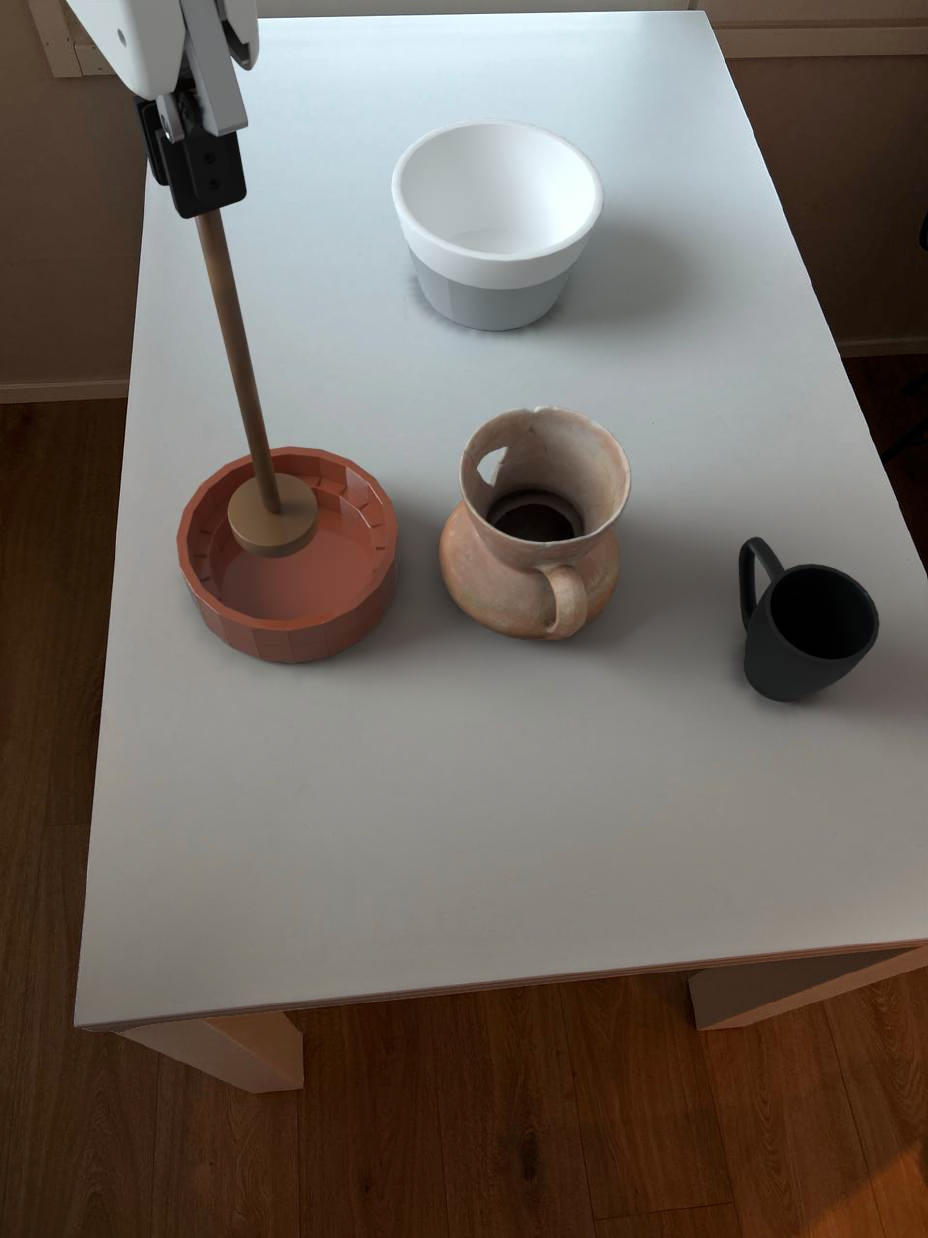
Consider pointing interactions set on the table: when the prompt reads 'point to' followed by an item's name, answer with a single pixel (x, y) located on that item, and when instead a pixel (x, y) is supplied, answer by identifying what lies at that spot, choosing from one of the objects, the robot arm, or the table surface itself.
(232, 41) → the robot arm
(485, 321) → the bowl
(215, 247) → the wooden dowel plunger
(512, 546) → the ceramic jug
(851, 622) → the mug
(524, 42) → the table surface
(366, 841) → the table surface
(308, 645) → the mixing bowl
